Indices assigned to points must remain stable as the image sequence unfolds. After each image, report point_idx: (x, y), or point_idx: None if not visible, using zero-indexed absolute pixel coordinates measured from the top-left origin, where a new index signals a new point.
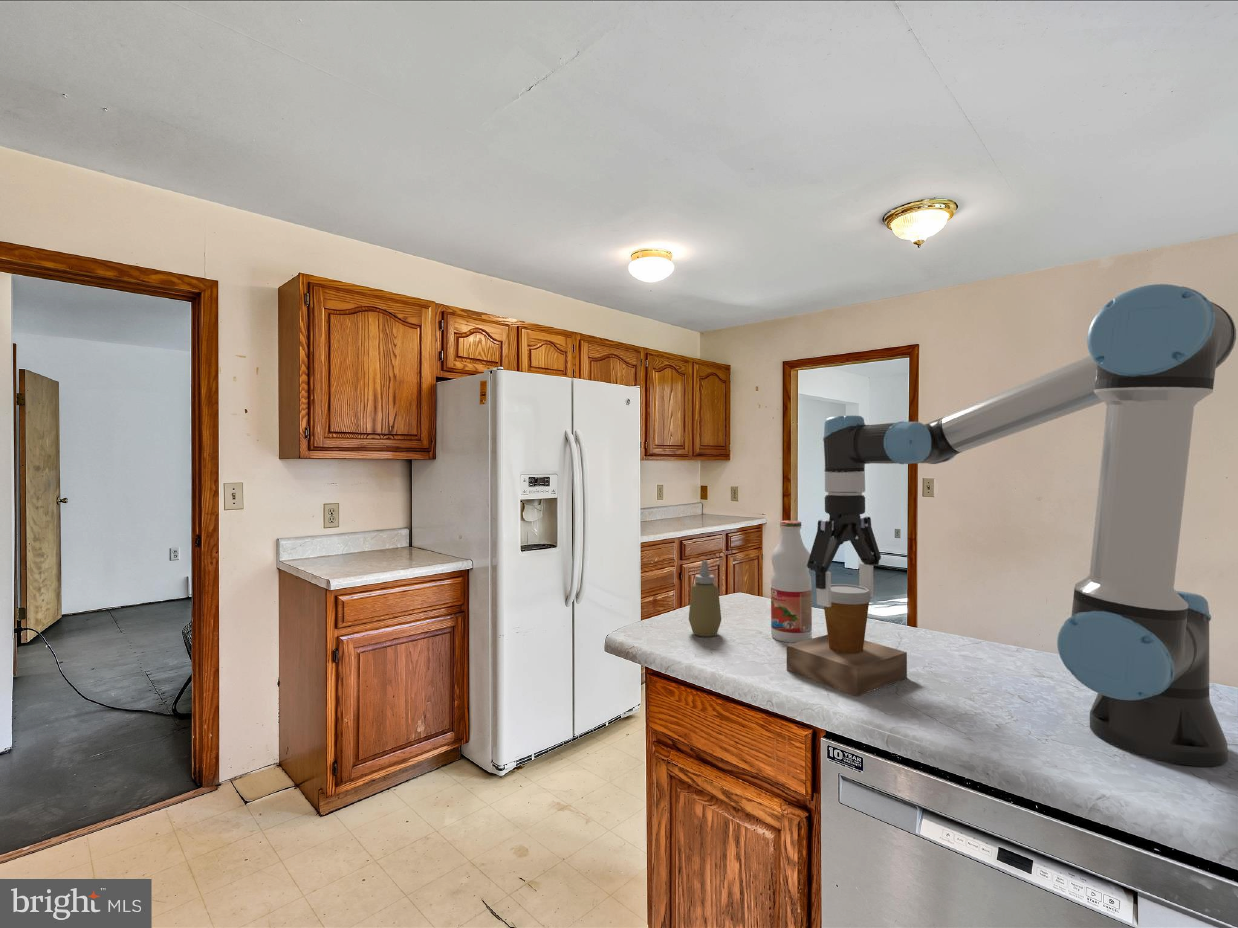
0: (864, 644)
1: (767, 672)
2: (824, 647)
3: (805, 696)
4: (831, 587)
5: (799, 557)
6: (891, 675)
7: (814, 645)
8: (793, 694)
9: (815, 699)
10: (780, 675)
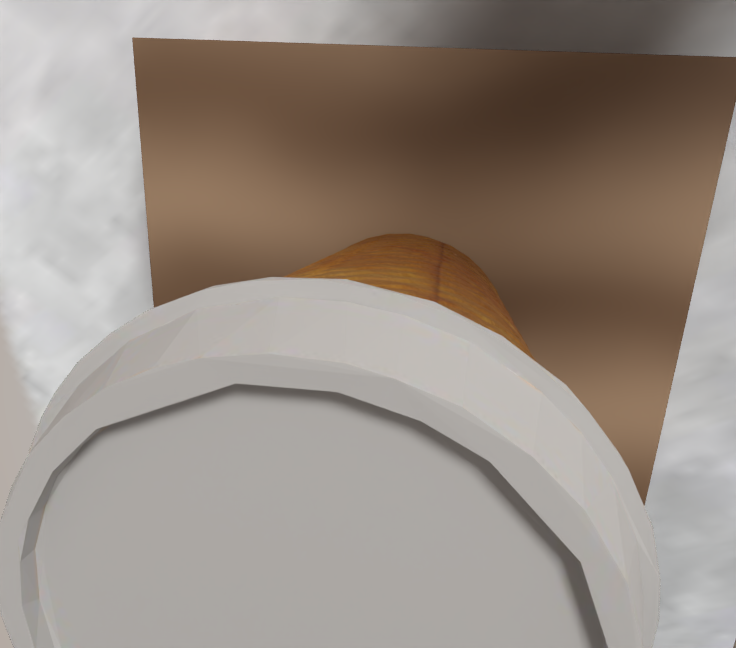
0: (584, 366)
1: (89, 7)
2: (310, 235)
3: (47, 319)
4: (288, 430)
5: None
6: None
7: (291, 167)
8: (18, 276)
9: (61, 359)
10: (119, 86)
